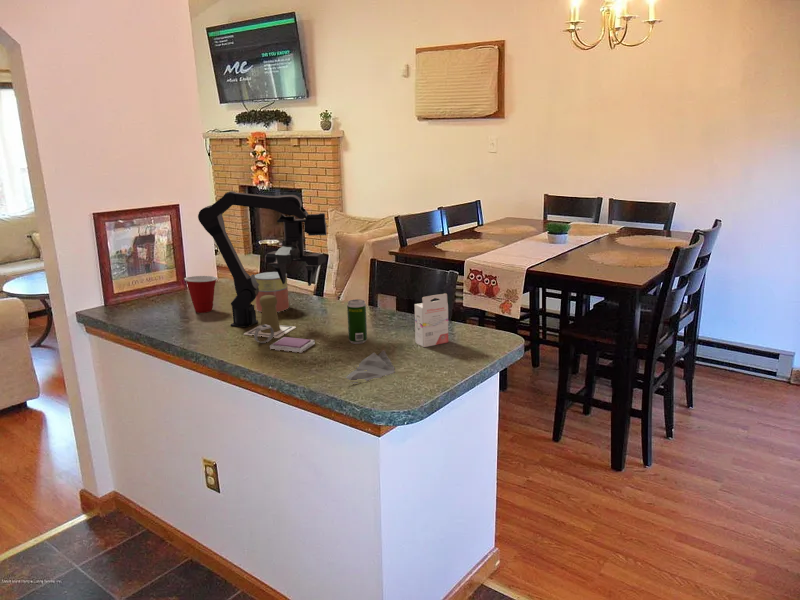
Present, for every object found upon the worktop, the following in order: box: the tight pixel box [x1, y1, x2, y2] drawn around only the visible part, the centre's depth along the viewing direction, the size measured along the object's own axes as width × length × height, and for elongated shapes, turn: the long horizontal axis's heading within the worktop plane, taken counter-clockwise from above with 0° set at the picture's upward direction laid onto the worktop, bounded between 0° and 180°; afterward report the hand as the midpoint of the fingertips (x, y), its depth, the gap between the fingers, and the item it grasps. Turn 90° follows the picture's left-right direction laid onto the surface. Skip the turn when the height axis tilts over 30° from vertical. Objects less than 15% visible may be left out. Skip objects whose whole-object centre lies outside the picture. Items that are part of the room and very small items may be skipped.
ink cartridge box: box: [414, 292, 449, 348], centre depth 179 cm, size 9×5×15 cm, turn 118°
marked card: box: [243, 324, 297, 339], centre depth 194 cm, size 12×11×1 cm
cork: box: [260, 295, 281, 333], centre depth 192 cm, size 6×6×11 cm
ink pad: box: [269, 336, 316, 354], centre depth 179 cm, size 10×8×2 cm
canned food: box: [254, 271, 290, 313], centre depth 218 cm, size 11×11×12 cm
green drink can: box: [346, 298, 368, 345], centre depth 181 cm, size 5×5×12 cm
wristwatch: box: [253, 324, 274, 344], centre depth 183 cm, size 6×3×5 cm, turn 137°
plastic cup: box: [184, 275, 218, 314], centre depth 217 cm, size 11×11×12 cm
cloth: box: [345, 350, 396, 384], centre depth 161 cm, size 26×14×2 cm, turn 150°
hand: (296, 284), depth 199 cm, fingers open, 9 cm apart
